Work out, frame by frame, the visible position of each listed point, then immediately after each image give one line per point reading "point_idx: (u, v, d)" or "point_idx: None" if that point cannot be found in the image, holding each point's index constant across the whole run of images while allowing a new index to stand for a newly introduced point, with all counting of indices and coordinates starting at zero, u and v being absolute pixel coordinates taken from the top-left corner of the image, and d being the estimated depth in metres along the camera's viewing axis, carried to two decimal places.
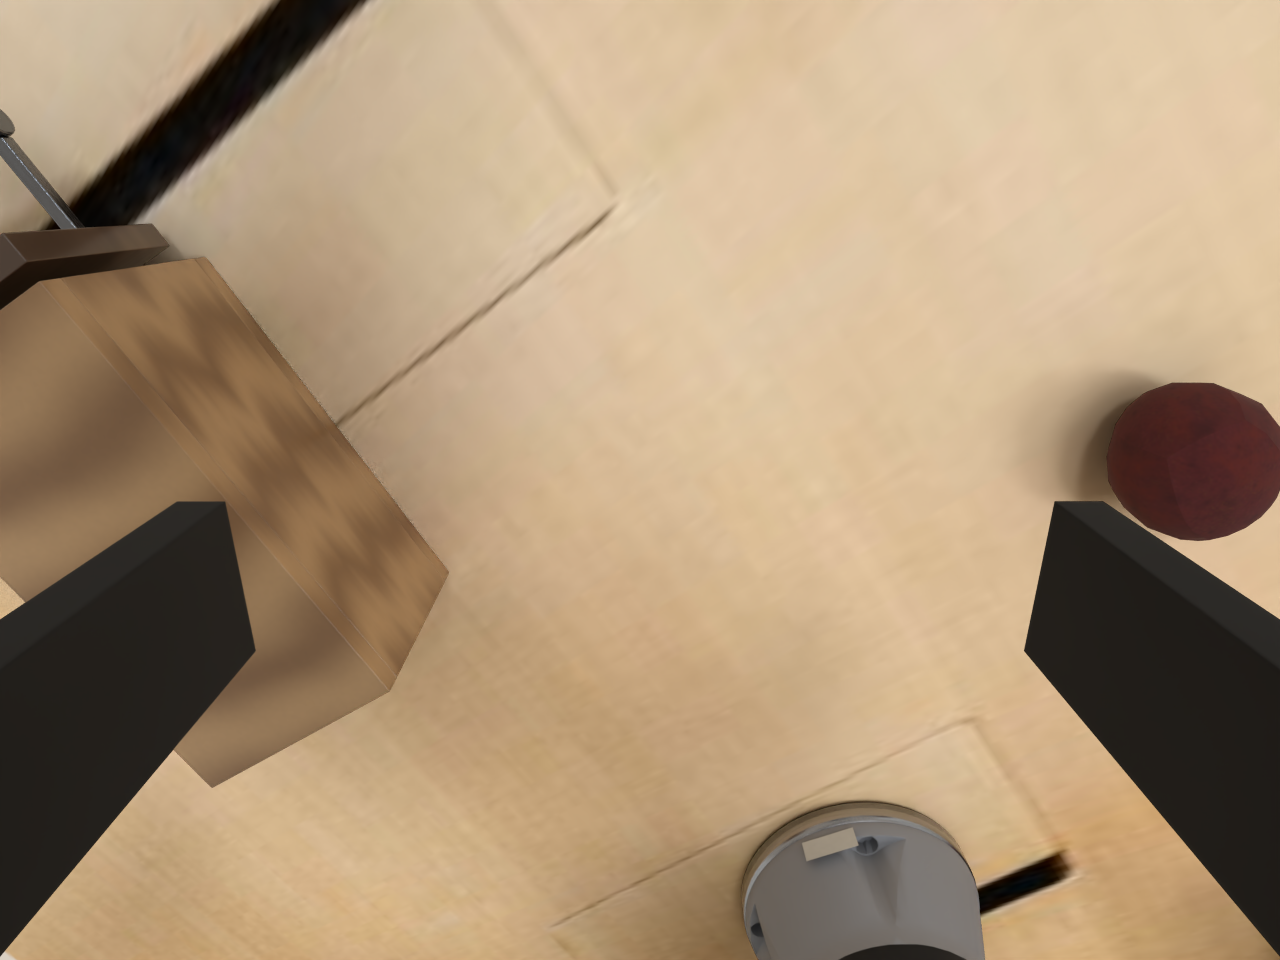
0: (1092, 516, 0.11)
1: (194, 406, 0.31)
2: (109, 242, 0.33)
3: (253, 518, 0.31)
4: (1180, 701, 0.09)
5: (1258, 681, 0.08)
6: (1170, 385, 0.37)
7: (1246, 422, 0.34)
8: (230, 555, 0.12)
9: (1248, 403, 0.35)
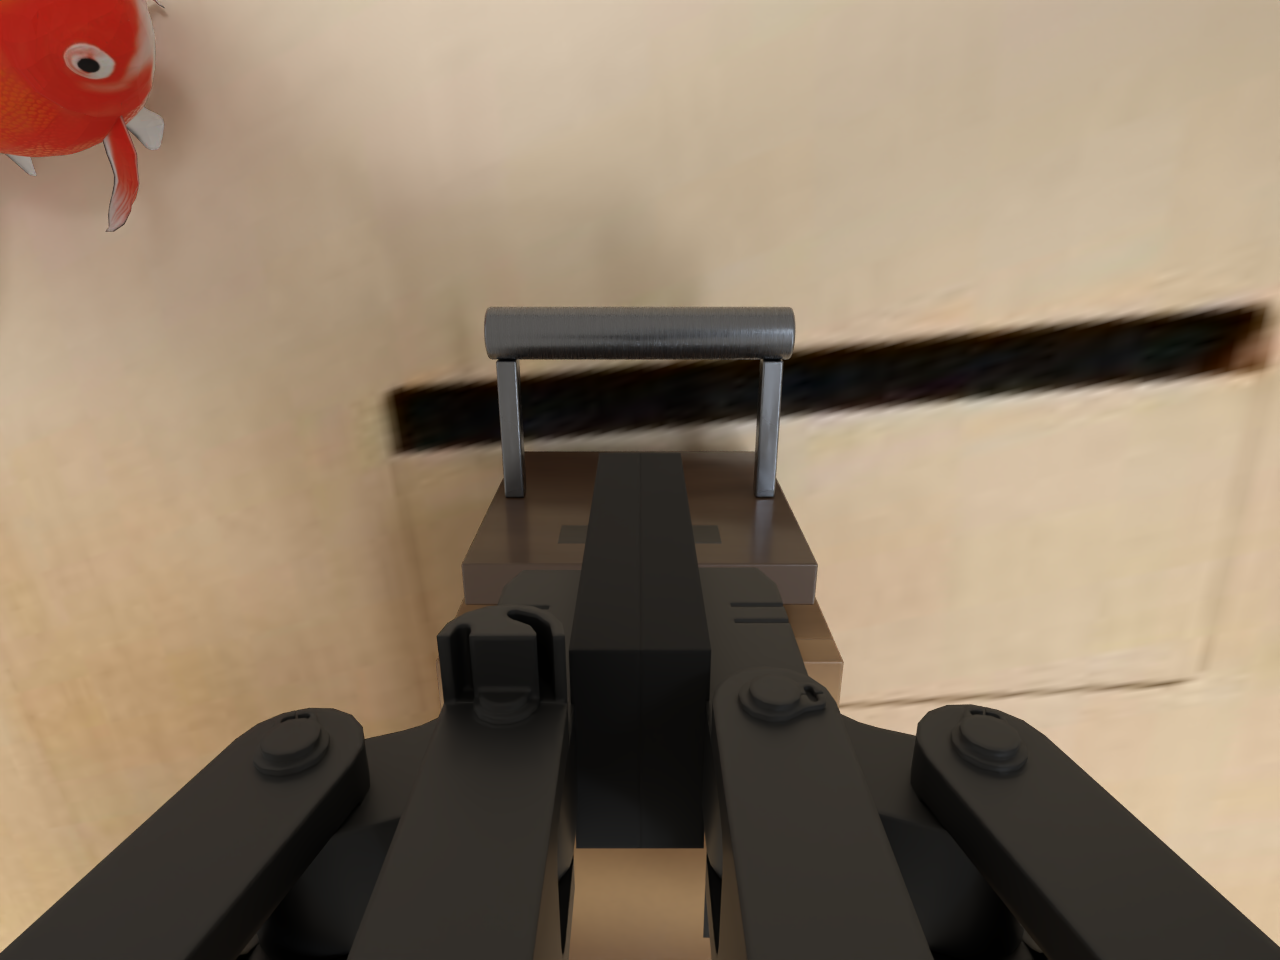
0: (653, 463, 0.14)
1: None
2: None
3: None
4: None
5: None
6: None
7: None
8: None
9: None
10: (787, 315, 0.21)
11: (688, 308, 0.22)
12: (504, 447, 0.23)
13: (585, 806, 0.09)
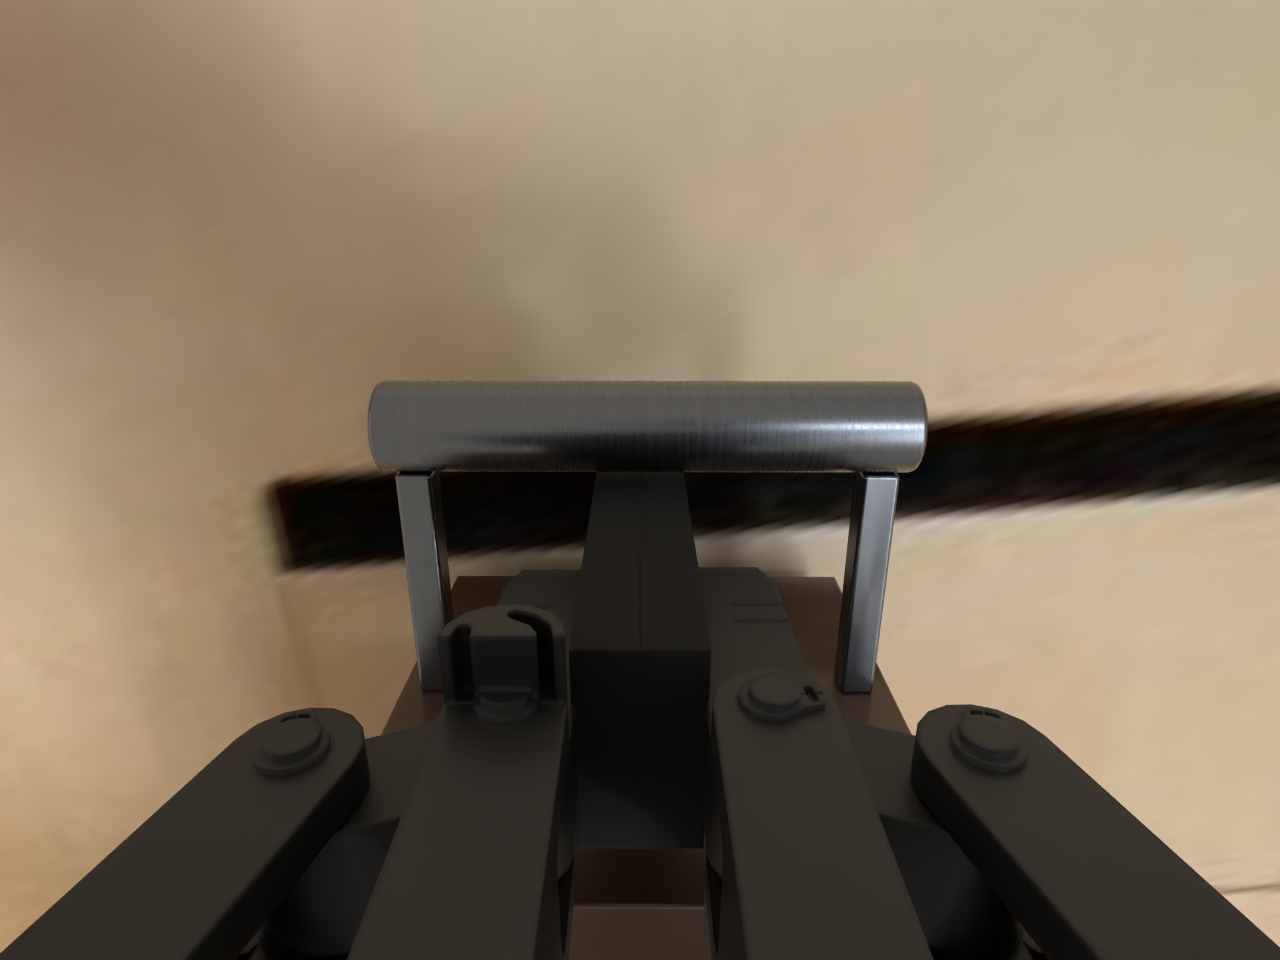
0: None
1: None
2: None
3: None
4: None
5: None
6: None
7: None
8: None
9: None
10: (913, 399, 0.12)
11: (734, 385, 0.12)
12: (415, 614, 0.13)
13: (585, 806, 0.09)
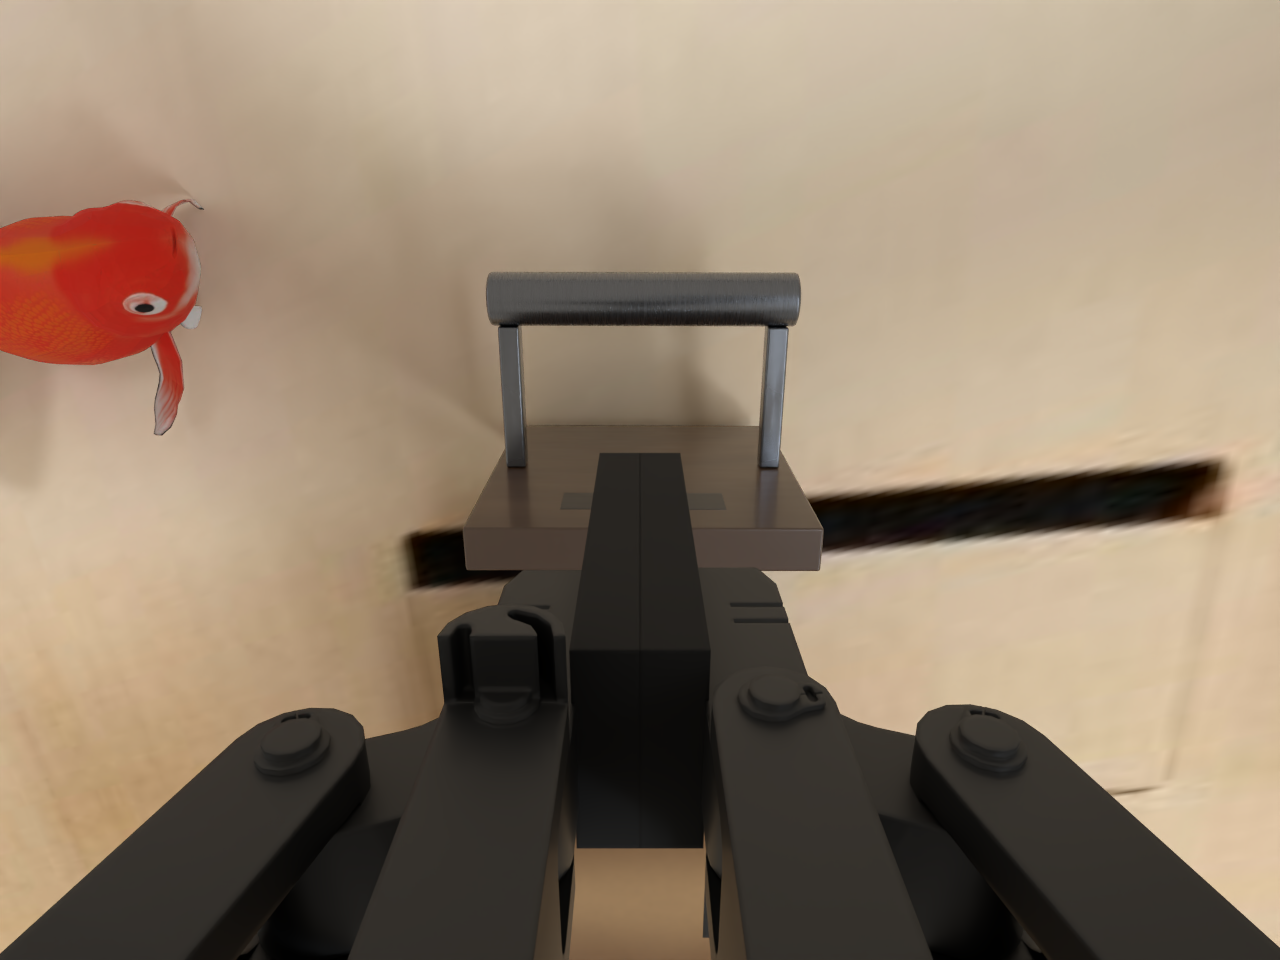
0: (653, 463, 0.14)
1: None
2: None
3: None
4: None
5: None
6: None
7: None
8: None
9: None
10: (793, 280, 0.21)
11: (692, 273, 0.21)
12: (506, 415, 0.23)
13: (585, 806, 0.09)
